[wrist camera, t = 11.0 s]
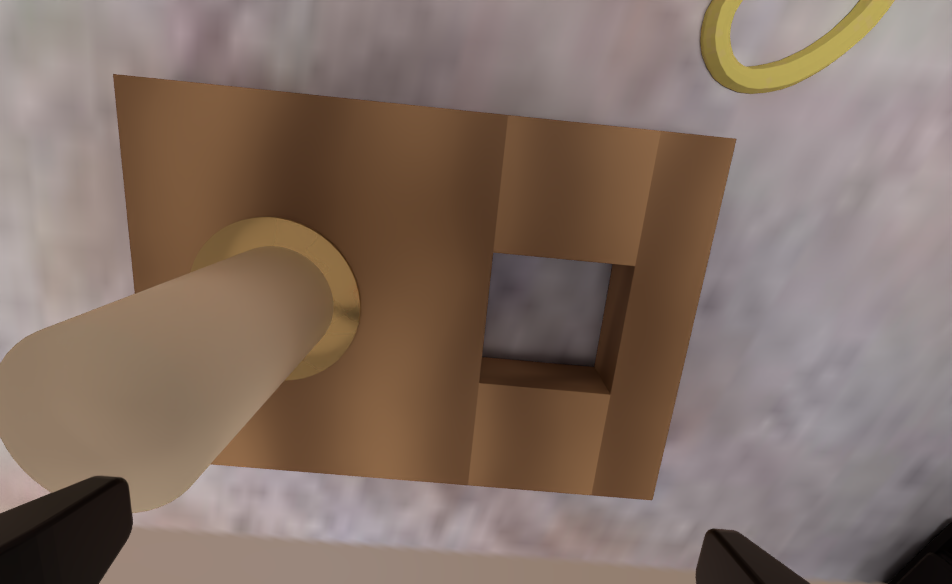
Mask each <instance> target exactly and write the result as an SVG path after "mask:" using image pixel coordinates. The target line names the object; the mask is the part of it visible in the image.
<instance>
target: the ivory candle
mask: <svg viewBox="0 0 952 584" xmlns="http://www.w3.org/2000/svg"><path fill="white" fill-rule="evenodd" d="M333 310H334V304H333V296H332V292H331V289H330V286H329V284H328V282H327V280H326V278H325V276H324V275H323V273H322V272H321V271H320V270H319V268H318V267H317V266H316V265H315V264H314V263H313V262H311V261H310V260H309V259H308V258H306V257H305V256H303V255H301V254H300V253H297V252H295V251H293V250H290V249H287V248H283V247H277V246H263V247H258V248H254V249H251V250H248V251H245V252H243V253H240V254H238V255H235V256H232V257H230V258H227V259H225V260H222V261H219V262H217V263H214V264H211V265H209V266H206V267H204V268H201V269H198V270H196V271H193V272H191V273H188V274H185V275H183V276H180V277H178V278H175V279H172V280H170V281H167V282H165V283H162V284H159V285H157V286H154V287H151V288H149V289H146V290H144V291H141V292H138V293H136V294H133V295H131V296H128V297H125V298H123V299H120V300H118V301H115V302H112V303H110V304H107V305H104V306H102V307H99V308H97V309H94V310H91V311H89V312H86V313H84V314H81V315H78V316H76V317H73V318H71V319H68V320H65V321H63V322H60V323H57V324H55V325H52V326H50V327H47V328H44V329H42V330H39V331H37V332H35V333H33V334H31V335H29V336H27V337H25V338H24V339H23V340H21V341H20V342H19V343H17V344H16V345H15V346H14V347H13V348H12V349H11V350H10V351H9V352H8V353H7V354H6V356H5V357H4V359H3V360H2V362H1V363H0V437H1V439H2V441H3V443H4V445H5V447H6V449H7V450H8V451H9V453H10V454H11V456H12V457H13V459H14V460H15V461H16V462H17V463H18V465H19V466H20V467H21V468H22V469H23V470H24V471H25V472H26V473H27V474H28V475H29V476H30V477H31V478H32V479H33V480H35V481H36V482H37V483H38V484H40V485H41V486H42V487H44V488H45V489H47V490H48V491H50V492H52V493H53V492H55V491H58V490H60V489H63V488H65V487H68V486H70V485H73V484H75V483H78V482H80V481H83V480H85V479H88V478H90V477H93V476H101V475H102V476H114V477H122V478H124V479H125V480H126V481H127V482H128V485H129V491H130V500H131V508H132V513H137V512H143V511H148V510H152V509H155V508H158V507H161V506H163V505H165V504H168V503H170V502H172V501H173V500H175V499H176V498H178V497H180V496H181V495H182V494H183V493H184V492H185V491H187V490H188V489H189V488H190V487H191V485H192V484H193V483H194V482H195V481H196V480H197V479H198V478H199V476H200V475H201V474H202V473H203V472H204V471H205V470H206V469H207V467H208V466H209V465H210V464H211V463H212V462H213V461H214V459H215V458H216V457H217V456H218V455H219V454H220V453H221V452H222V450H223V449H224V448H225V447H226V446H227V445H228V444H229V443H230V441H231V440H232V439H233V438H234V437H235V436H236V435H237V434H238V432H239V431H240V430H241V429H242V428H243V427H244V426H245V424H246V423H247V422H248V421H249V420H250V419H251V418H252V417H253V415H254V414H255V413H256V412H257V411H258V410H259V409H260V408H261V406H262V405H263V404H264V403H265V402H266V401H267V400H268V398H269V397H270V396H271V395H272V394H273V393H274V392H275V391H276V389H277V388H278V387H279V386H280V385H281V384H282V383H283V382H284V380H285V379H286V378H287V377H288V376H289V375H290V374H291V372H292V371H293V370H294V369H295V368H296V367H297V366H298V365H299V363H300V362H301V361H302V360H303V359H304V358H305V357H306V356H307V354H308V353H309V352H310V351H311V350H312V349H313V348H314V346H315V345H316V344H317V343H318V342H319V341H320V340H321V339H322V337H323V336H324V335H325V333H326V332H327V330H328V328H329V326H330V324H331V321H332V317H333Z"/></svg>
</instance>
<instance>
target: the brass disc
mask: <svg viewBox="0 0 952 584" xmlns="http://www.w3.org/2000/svg"><path fill="white" fill-rule="evenodd" d="M263 246H277V247H283V248H287V249H290V250H293V251H295V252H297V253H300V254H301V255H303V256H305V257H306V258H308V259H309V260H310V261H311V262H313V263H314V264H315V265H316V266H317V267H318V268H319V270H320V271H321V272H322V273H323V275H324V276H325V278H326V280H327V282H328V284H329V286H330V289H331V292H332V296H333V304H334V310H333V317H332V321H331V324H330V326H329V328H328V330H327V332H326V333H325V335H324V336H323V337H322V339H321V340H320V341H319V342H318V343H317V344H316V345H315V346H314V348H313V349H312V350H311V351H310V352H309V353H308V354H307V356H306V357H305V358H304V359H303V360H302V361H301V362H300V363H299V365H298V366H297V367H296V368H295V369H294V370H293V371H292V372H291V374H290V375H289V376H288V377H287V378H286V379H285V380H296V379H302V378H306V377H309V376H312V375H315V374H317V373H319V372H321V371H323V370H325V369H327V368H328V367H330V366H331V365H332V364H334V363H335V362H336V361H337V360H338V359H339V358H340V357H341V356H342V355H343V354H344V353H345V351H346V350H347V348H348V347H349V345H350V344H351V342H352V341H353V339H354V336H355V334H356V332H357V329H358V325H359V322H360V315H361V298H360V291H359V287H358V283H357V280H356V277H355V275H354V273H353V270H352V268H351V267H350V265H349V263H348V261H347V260H346V258H345V257H344V256H343V254H342V253H341V252H340V251H339V250H338V248H337V247H336V246H335V245H334V244H333V243H332V242H331V241H329V240H328V239H327V238H326V237H324V236H323V235H322V234H320V233H319V232H317V231H316V230H314V229H312V228H310V227H308V226H306V225H304V224H302V223H299V222H296V221H293V220H289V219H285V218H280V217H255V218H250V219H245V220H241V221H238V222H235V223H232V224H230V225H228V226H226V227H224V228H223V229H221V230H220V231H218V232H217V233H215V234H214V235H213V236H212V237H211V238H210V239H209V240H208V241H207V242H206V243H205V244H204V245H203V247H202V248H201V249H200V251H199V252H198V254H197V256H196V258H195V260H194V263H193V265H192V268H191V272H193V271H196V270H198V269H201V268H204V267H206V266H209V265H211V264H214V263H217V262H219V261H222V260H225V259H227V258H230V257H232V256H235V255H238V254H240V253H243V252H245V251H248V250H251V249H254V248H258V247H263ZM191 272H190V273H191Z"/></svg>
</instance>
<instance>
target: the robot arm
mask: <svg viewBox="0 0 952 584" xmlns="http://www.w3.org/2000/svg"><path fill="white" fill-rule="evenodd" d="M132 525H133V517H132V508H131V500H130V491H129V485H128V482H127V481H126V480H125V479H124V478H122V477H114V476H102V475H101V476H93V477H90V478H88V479H85V480H83V481H80V482H78V483H75V484H73V485H70V486H68V487H65V488H63V489H60V490H58V491H55V492H53V493H50V494H48V495H45V496H43V497H40V498H38V499H35V500H33V501H30V502H28V503H25V504H23V505H20V506H18V507H15V508H13V509H10V510H8V511H5V512H3V513H0V584H99V583H100V581H101V580H102V578H103V577H104V575H105V573H106V572H107V570H108V569H109V567H110V566H111V564H112V563H113V561H114V560H115V558H116V557H117V555H118V554H119V552H120V550H121V549H122V547H123V546H124V544H125V543H126V541H127V539H128V538H129V535H130V533H131V530H132ZM696 584H810V583H809V582H807V581H806V580H805V579H803V578H802V577H800V576H799V575H798V574H796V573H795V572H793V571H792V570H791V569H789V568H788V567H786V566H785V565H784V564H782V563H781V562H780V561H778V560H777V559H775V558H774V557H773V556H771V555H770V554H768V553H767V552H766V551H764V550H763V549H761V548H760V547H759V546H757V545H756V544H754V543H753V542H752V541H750V540H749V539H748V538H746V537H745V536H743V535H742V534H741V533H739V532H737V531H734V530H726V529H710V530H708V531H707V533H706V534H705V537H704V541H703V545H702V548H701V552H700V556H699V560H698V564H697V568H696ZM888 584H952V523H950V524H949V525H948V526H947V527H946V528H945V529H944V530H943V531H942V532H941V533H940V534H939V535H938V536H937V537H936V538H935V539H934V540H932V541H931V542H930V543H929V544H928V545H927V546H926V547H925V548H924V549H923V550H922V551H921V552H920V553H919V554H918V555H917V556H916V557H915V558H914V559H913V560H912V561H911V562H910V563H909V564H908V565H907V566H906V567H905V568H904V569H903V570H902V571H901V572H900V573H899V574H898V575H896V576H895V577H894V578H893V579H892V580H891V581H890V582H889V583H888Z"/></svg>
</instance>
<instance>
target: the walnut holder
mask: <svg viewBox="0 0 952 584" xmlns="http://www.w3.org/2000/svg"><path fill="white" fill-rule="evenodd" d="M113 78H114V88H115V98H116V108H117V118H118V129H119V139H120V149H121V159H122V169H123V179H124V189H125V199H126V209H127V219H128V229H129V239H130V249H131V259H132V269H133V279H134V289H135V294H136V293H138V292H141V291H144V290H146V289H149V288H151V287H154V286H157V285H159V284H162V283H165V282H167V281H170V280H172V279H175V278H178V277H180V276H183V275H185V274H188V273H190V272H191V268H192V265H193V263H194V260H195V258H196V256H197V254H198V252H199V251H200V249H201V248H202V247H203V245H204V244H205V243H206V242H207V241H208V240H209V239H210V238H211V237H212V236H213V235H214V234H215V233H217V232H218V231H220V230H221V229H223V228H224V227H226V226H228V225H230V224H232V223H235V222H238V221H241V220H245V219H250V218H255V217H280V218H285V219H289V220H293V221H296V222H299V223H302V224H304V225H306V226H308V227H310V228H312V229H314V230H316V231H317V232H319V233H320V234H322V235H323V236H324V237H326V238H327V239H328V240H329V241H331V242H332V243H333V244H334V245H335V246H336V247H337V248H338V250H339V251H340V252H341V253H342V254H343V256H344V257H345V258H346V260H347V261H348V263H349V265H350V267H351V268H352V270H353V273H354V275H355V277H356V280H357V283H358V287H359V291H360V298H361V315H360V322H359V325H358V329H357V332H356V334H355V336H354V339H353V341H352V342H351V344H350V345H349V347H348V348H347V350H346V351H345V353H344V354H343V355H342V356H341V357H340V358H339V359H338V360H337V361H336V362H335V363H334V364H332V365H331V366H330V367H328V368H327V369H325V370H323V371H321V372H319V373H317V374H315V375H312V376H309V377H306V378H302V379H296V380H284V382H283V383H282V384H281V385H280V386H279V387H278V388H277V389H276V391H275V392H274V393H273V394H272V395H271V396H270V397H269V398H268V400H267V401H266V402H265V403H264V404H263V405H262V406H261V408H260V409H259V410H258V411H257V412H256V413H255V414H254V415H253V417H252V418H251V419H250V420H249V421H248V422H247V423H246V424H245V426H244V427H243V428H242V429H241V430H240V431H239V432H238V434H237V435H236V436H235V437H234V438H233V439H232V440H231V441H230V443H229V444H228V445H227V446H226V447H225V448H224V449H223V450H222V452H221V453H220V454H219V455H218V456H217V457H216V458H215V459H214V461H213V462H212V463H211V464H213V465H226V466H238V467H250V468H263V469H275V470H287V471H299V472H312V473H324V474H336V475H348V476H361V477H373V478H385V479H398V480H410V481H422V482H434V483H447V484H459V485H471V486H484V487H496V488H508V489H520V490H533V491H545V492H557V493H570V494H582V495H594V496H606V497H619V498H631V499H643V500H652V499H653V495H654V491H655V486H656V482H657V478H658V474H659V469H660V465H661V461H662V456H663V452H664V448H665V443H666V439H667V435H668V431H669V426H670V422H671V418H672V413H673V409H674V405H675V401H676V396H677V392H678V388H679V383H680V379H681V375H682V370H683V366H684V362H685V358H686V353H687V349H688V345H689V340H690V336H691V332H692V328H693V323H694V319H695V315H696V310H697V306H698V302H699V297H700V293H701V289H702V285H703V280H704V276H705V272H706V267H707V263H708V259H709V255H710V250H711V246H712V242H713V237H714V233H715V229H716V224H717V220H718V216H719V212H720V207H721V203H722V199H723V194H724V190H725V186H726V182H727V177H728V173H729V169H730V164H731V160H732V156H733V151H734V147H735V143H736V139H733V138H723V137H714V136H704V135H694V134H685V133H675V132H665V131H656V130H646V129H637V128H627V127H617V126H608V125H598V124H588V123H579V122H569V121H560V120H550V119H540V118H531V117H521V116H511V115H502V114H492V113H483V112H473V111H463V110H454V109H444V108H435V107H425V106H415V105H406V104H396V103H386V102H377V101H367V100H358V99H348V98H338V97H329V96H319V95H309V94H300V93H290V92H281V91H271V90H261V89H252V88H242V87H232V86H223V85H213V84H204V83H194V82H184V81H175V80H165V79H156V78H146V77H136V76H127V75H117V74H113ZM493 252H494V253H504V254H515V255H525V256H536V257H546V258H557V259H567V260H578V261H588V262H598V263H609V264H613V265H612V271H611V276H610V282H609V287H608V293H607V299H606V304H605V310H604V315H603V321H602V327H601V332H600V338H599V344H598V349H597V355H596V360H595V366H594V367H589V366H577V365H566V364H555V363H544V362H533V361H521V360H510V359H499V358H488V357H482V351H483V342H484V333H485V324H486V314H487V305H488V296H489V287H490V278H491V268H492V259H493Z"/></svg>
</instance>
